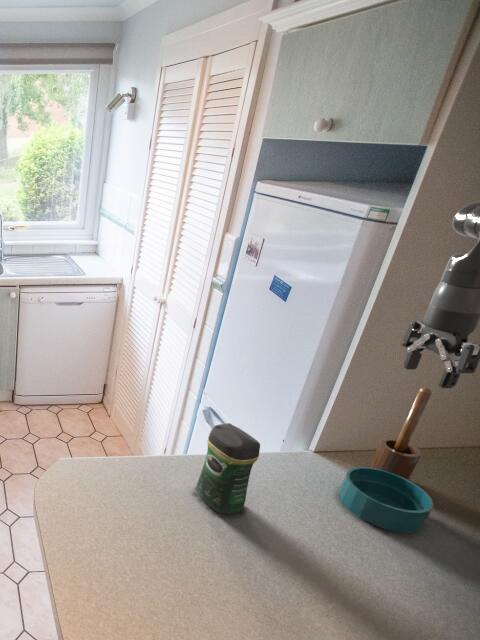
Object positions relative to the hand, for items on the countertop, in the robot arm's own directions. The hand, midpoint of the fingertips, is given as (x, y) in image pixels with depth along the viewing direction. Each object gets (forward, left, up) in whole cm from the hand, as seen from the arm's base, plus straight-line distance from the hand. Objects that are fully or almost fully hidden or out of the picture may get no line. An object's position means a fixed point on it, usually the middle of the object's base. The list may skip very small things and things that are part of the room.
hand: (426, 377), depth 96 cm
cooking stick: (-3, -2, -28) cm, 28 cm away
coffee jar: (+41, +8, -29) cm, 50 cm away
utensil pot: (-3, -2, -29) cm, 29 cm away
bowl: (+7, +9, -29) cm, 31 cm away
